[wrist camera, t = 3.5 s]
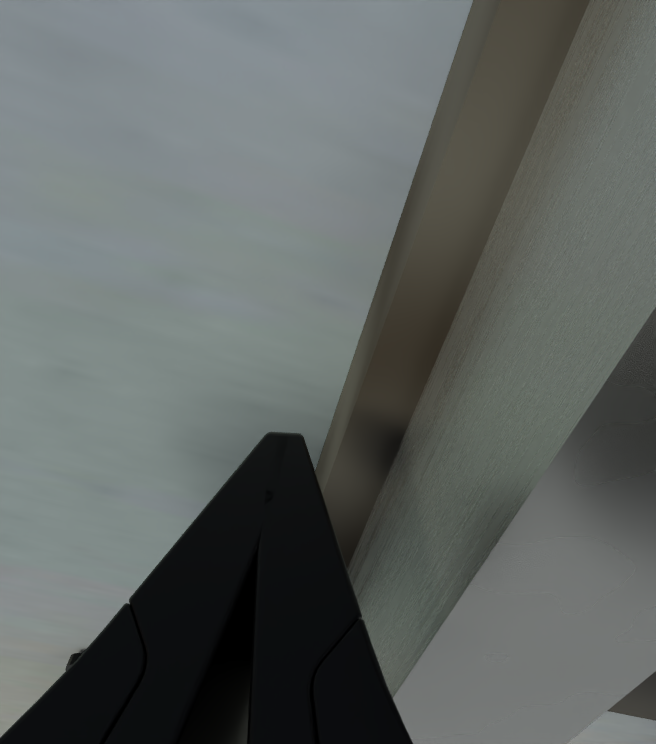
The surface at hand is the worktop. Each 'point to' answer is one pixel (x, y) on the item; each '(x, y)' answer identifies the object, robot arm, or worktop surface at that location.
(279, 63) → the worktop surface
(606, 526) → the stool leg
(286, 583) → the robot arm
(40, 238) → the worktop surface
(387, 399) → the wooden board
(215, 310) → the worktop surface
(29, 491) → the worktop surface
